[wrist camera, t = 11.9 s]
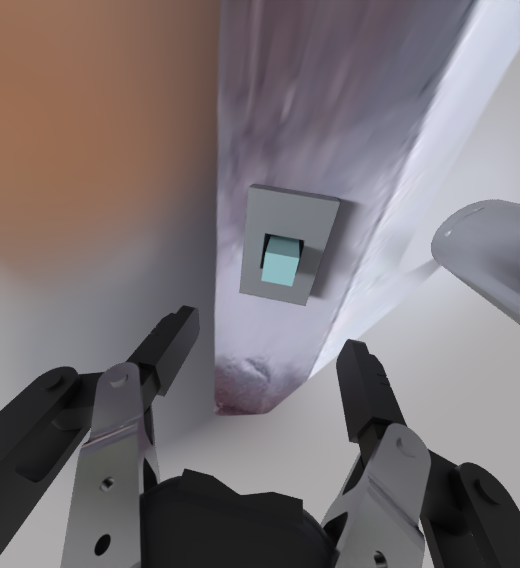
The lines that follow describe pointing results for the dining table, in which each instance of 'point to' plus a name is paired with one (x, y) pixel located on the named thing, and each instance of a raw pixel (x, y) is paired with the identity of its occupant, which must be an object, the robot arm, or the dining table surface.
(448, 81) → the dining table surface
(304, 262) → the grey slotted block
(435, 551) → the robot arm
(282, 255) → the teal rectangular block
